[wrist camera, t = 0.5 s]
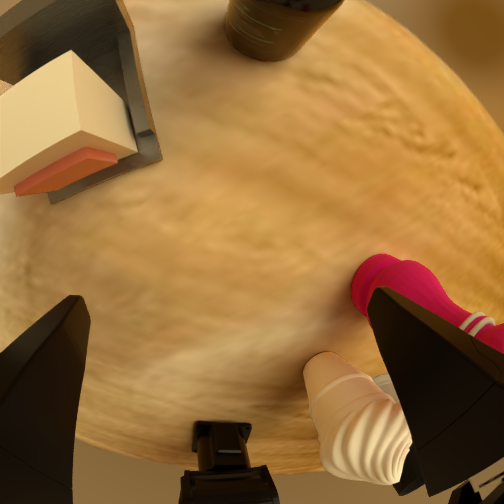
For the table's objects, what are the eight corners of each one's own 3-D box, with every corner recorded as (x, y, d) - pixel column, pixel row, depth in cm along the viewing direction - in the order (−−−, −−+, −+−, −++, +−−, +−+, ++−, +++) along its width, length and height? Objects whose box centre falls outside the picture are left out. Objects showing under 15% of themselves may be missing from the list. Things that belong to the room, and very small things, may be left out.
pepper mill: (370, 328, 27) (498, 454, 8) (331, 291, 24) (496, 449, 5) (412, 276, 26) (559, 367, 7) (380, 233, 24) (576, 321, 5)
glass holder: (357, 378, 28) (424, 467, 14) (430, 365, 31) (492, 422, 17) (333, 425, 30) (380, 507, 16) (406, 407, 33) (455, 466, 19)
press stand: (163, 159, 19) (128, 142, 9) (55, 203, 18) (-23, 224, 8) (133, 26, 15) (104, -44, 6) (35, 73, 14) (-27, 40, 5)
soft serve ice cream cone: (362, 368, 28) (440, 463, 13) (301, 405, 28) (355, 516, 13) (343, 319, 25) (448, 431, 10) (270, 363, 25) (329, 506, 10)
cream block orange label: (139, 159, 18) (83, 143, 8) (61, 193, 17) (-24, 210, 7) (126, 103, 16) (71, 49, 7) (50, 140, 16) (-34, 126, 6)
